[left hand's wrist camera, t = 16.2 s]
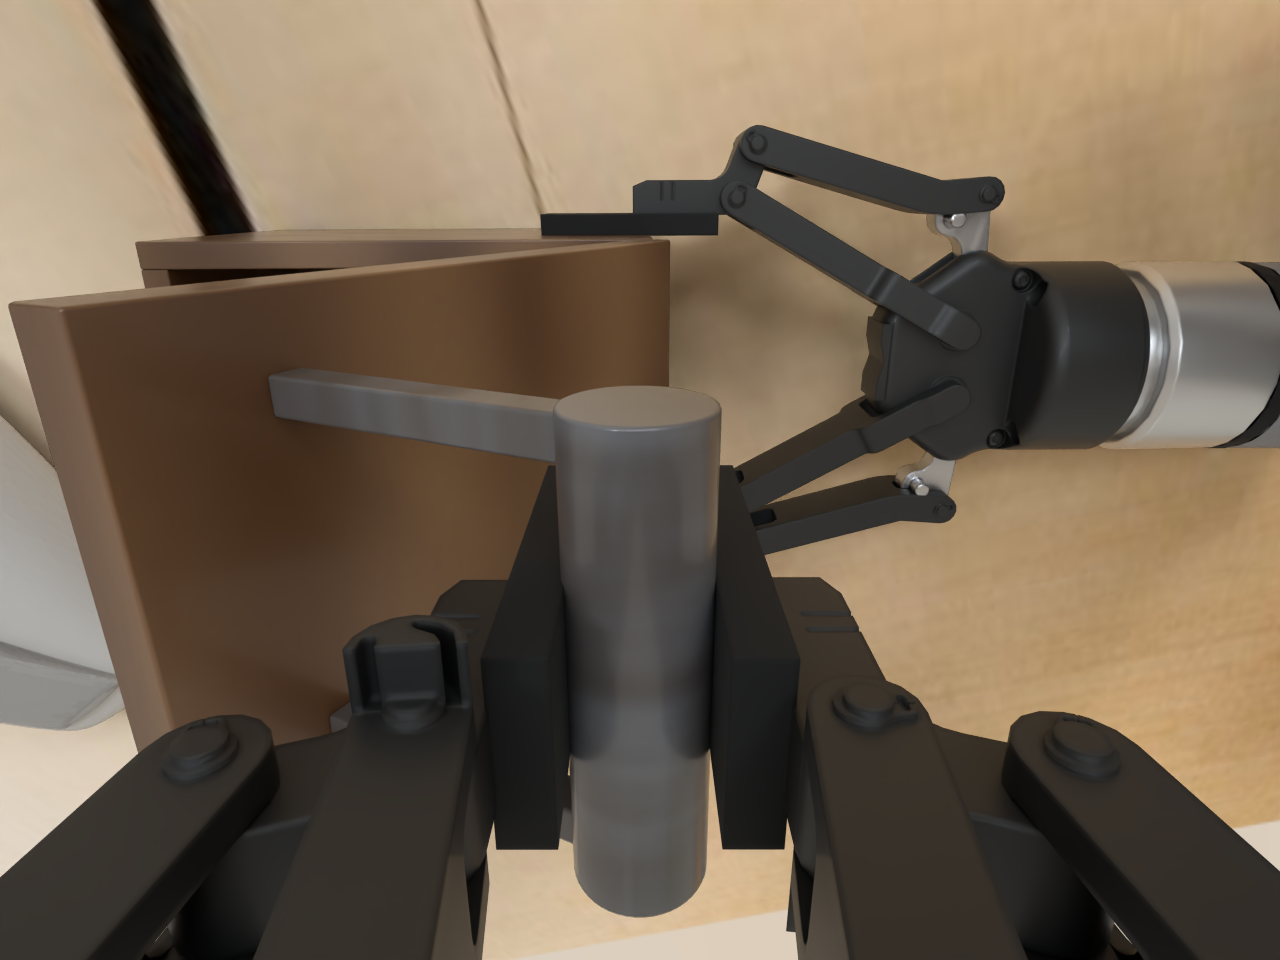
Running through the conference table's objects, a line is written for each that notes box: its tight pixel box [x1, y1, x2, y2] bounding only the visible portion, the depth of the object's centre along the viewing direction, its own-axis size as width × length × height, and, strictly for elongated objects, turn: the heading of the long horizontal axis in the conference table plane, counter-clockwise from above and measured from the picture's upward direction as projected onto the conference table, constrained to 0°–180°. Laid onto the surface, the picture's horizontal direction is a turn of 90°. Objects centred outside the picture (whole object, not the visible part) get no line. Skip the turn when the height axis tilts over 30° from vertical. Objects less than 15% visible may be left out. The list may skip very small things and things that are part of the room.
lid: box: [8, 239, 722, 917], centre depth 17 cm, size 18×10×9 cm
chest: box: [135, 229, 653, 289], centre depth 32 cm, size 17×10×11 cm, turn 90°
